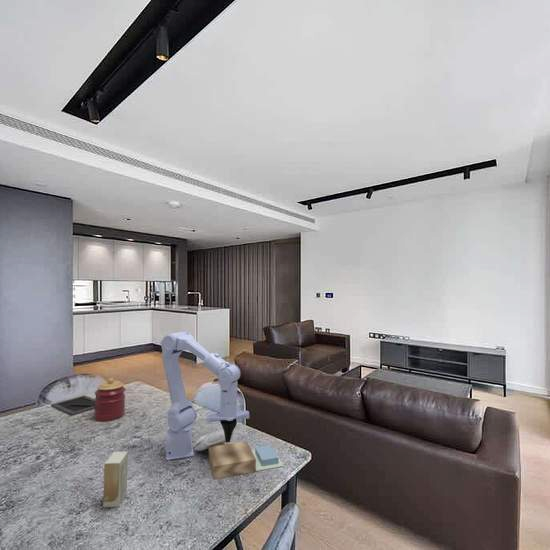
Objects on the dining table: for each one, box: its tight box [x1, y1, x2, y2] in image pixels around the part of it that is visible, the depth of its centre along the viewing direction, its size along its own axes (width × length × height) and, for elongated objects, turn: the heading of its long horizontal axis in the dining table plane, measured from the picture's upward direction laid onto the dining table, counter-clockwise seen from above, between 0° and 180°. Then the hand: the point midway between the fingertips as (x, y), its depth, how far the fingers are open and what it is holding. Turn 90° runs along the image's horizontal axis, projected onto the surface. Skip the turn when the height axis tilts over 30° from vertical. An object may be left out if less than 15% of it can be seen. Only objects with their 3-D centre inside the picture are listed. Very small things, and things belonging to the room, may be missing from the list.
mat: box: [251, 448, 285, 472], centre depth 112 cm, size 10×13×1 cm
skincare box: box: [102, 451, 129, 508], centre depth 90 cm, size 6×4×12 cm
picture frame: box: [50, 395, 95, 417], centre depth 159 cm, size 16×2×21 cm
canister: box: [93, 377, 126, 422], centre depth 148 cm, size 13×13×18 cm
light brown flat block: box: [208, 440, 257, 480], centre depth 108 cm, size 14×13×4 cm
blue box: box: [254, 444, 279, 466], centre depth 112 cm, size 6×9×2 cm, turn 18°
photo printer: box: [194, 428, 234, 452], centre depth 117 cm, size 10×4×12 cm
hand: (227, 441), depth 108 cm, fingers closed
